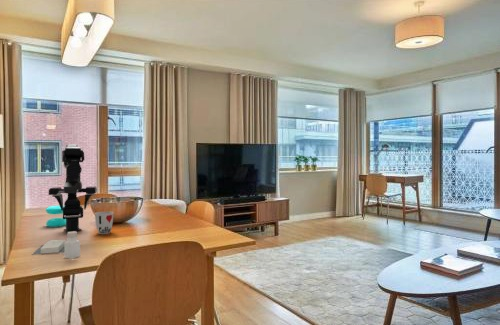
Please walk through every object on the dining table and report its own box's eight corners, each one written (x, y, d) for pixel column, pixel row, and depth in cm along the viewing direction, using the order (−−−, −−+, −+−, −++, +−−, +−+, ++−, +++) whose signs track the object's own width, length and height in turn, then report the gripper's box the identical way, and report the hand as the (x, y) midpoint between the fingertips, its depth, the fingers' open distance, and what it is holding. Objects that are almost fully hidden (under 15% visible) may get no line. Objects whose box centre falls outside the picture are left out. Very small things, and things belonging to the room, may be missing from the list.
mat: (42, 246, 145) (42, 245, 145) (74, 244, 149) (74, 243, 149) (31, 255, 132) (31, 254, 132) (66, 253, 135) (66, 252, 135)
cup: (95, 236, 163) (95, 214, 163) (94, 232, 170) (94, 212, 170) (114, 234, 167) (114, 213, 166) (112, 230, 174) (112, 210, 174)
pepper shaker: (63, 258, 128) (63, 232, 128) (72, 255, 132) (72, 230, 132) (72, 260, 127) (71, 233, 127) (81, 257, 131) (80, 231, 130)
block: (49, 240, 144) (40, 248, 133) (65, 239, 146) (58, 247, 134) (49, 245, 144) (40, 254, 133) (65, 244, 146) (58, 252, 134)
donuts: (57, 204, 192) (71, 205, 189) (57, 223, 192) (72, 224, 189) (41, 207, 182) (56, 208, 179) (41, 226, 183) (56, 228, 180)
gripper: (44, 176, 147) (45, 213, 147) (93, 176, 152) (93, 211, 152) (51, 174, 157) (52, 209, 158) (96, 174, 163) (97, 208, 163)
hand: (73, 209), depth 158 cm, fingers open, 9 cm apart
